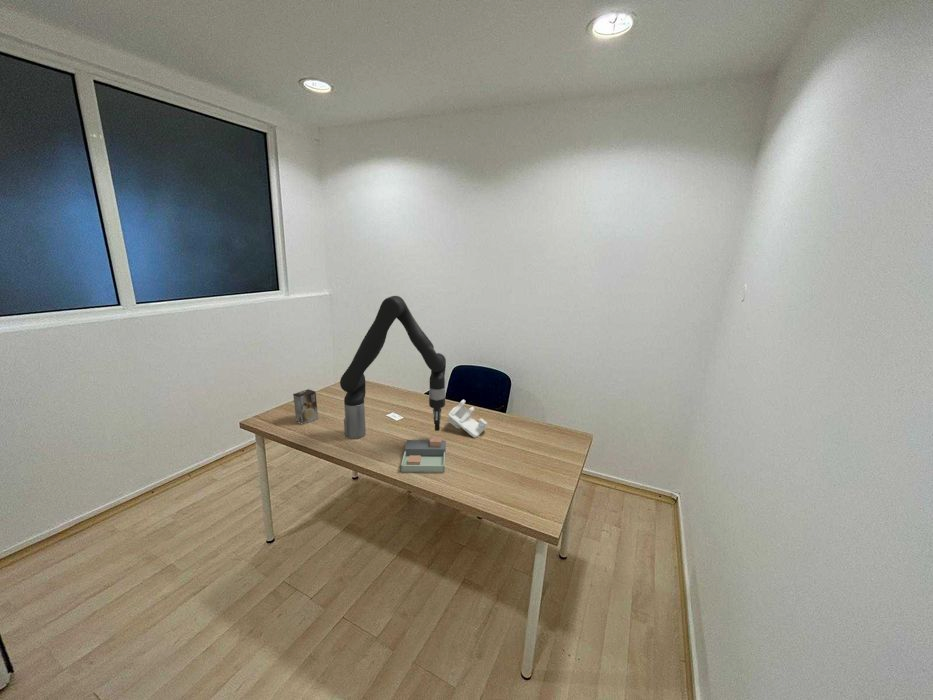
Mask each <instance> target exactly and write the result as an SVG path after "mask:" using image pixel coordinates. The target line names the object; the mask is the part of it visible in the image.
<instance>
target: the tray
mask: <svg viewBox="0 0 933 700" xmlns="http://www.w3.org/2000/svg"><path fill="white" fill-rule="evenodd" d="M408 459H409V456H406V451H405V450H404V453H403V457H402V460H401V464H400V472H401V473H439V474H440V473H442V474H443V473H445V469H446V452H444V457H428V456H421V463H420V465H408Z"/></svg>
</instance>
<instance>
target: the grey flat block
mask: <svg viewBox="0 0 933 700" xmlns="http://www.w3.org/2000/svg"><path fill="white" fill-rule="evenodd" d="M446 444H447V441H446V440H445V439H444V440H443V439H442V440H441V447H430V439H426V440H425V439H407V440H406V443H405V446H404V452H405V451H406V456H409V455H421V456H428V457H444V452H445V453H446V452H447V451H446V450H447V449H446V448H447V445H446Z"/></svg>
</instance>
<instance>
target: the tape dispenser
mask: <svg viewBox="0 0 933 700" xmlns="http://www.w3.org/2000/svg"><path fill="white" fill-rule="evenodd" d="M465 403H466V400H465V399H462V400H461V401H460V402H459V404H458V405H456V406H454V407H453V408H452V409H451V410H450V411H449V412H448V414H447V417H448V419H447V421H448V422H449V423H450V424H451V425H453V426H454V427H455V428H456V429H458V430H460V429H462V430H464V431H465V432H467V434H468V435H470V436H471V437H473V438H475V439H476V438H478V437H479V436H480V435H481V434H482V433H483V432H484V431H485V430H486V428H487V426H488V422H487V421H486V420H485V419H483V418H479V419H478V421H477V420H476V419H474V418H471V417H470V415H471V414H472V413H473V412H474V410H475V409H476V408H475V407H474V406H471V407H469V409H467V408H466V407H465V406H464V405H465Z"/></svg>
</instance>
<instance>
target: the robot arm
mask: <svg viewBox="0 0 933 700" xmlns="http://www.w3.org/2000/svg"><path fill="white" fill-rule="evenodd" d="M396 319H397V320H398V321H399V322H400V324H402V326H403V327H404V329H405V331H406V333H407V335H408V338H409V340H410V341H411V343H412V345H413V346H414V347H415V348H416V349H417V351H418V352H419V354H420V355H421V357H422V358H423V361H424V363H425V364H426V366H427V367H428V369H429V370H430V372H431V373H430V377H429V389H428V397H429V398H428V403H429V404H428V405H429V407H430V408H432V415H433V416H432V417H433V418H432V419H433V424H434V431H435V432H439V431H441V430H440V428H441V427H440V425H441V418H442V411H443V410H442V408H444V407H446V387H445V386H446V379H445V375H446V367H447V366H446V365H447V360H446V356H445V355H444V354H442V353H440V352H438V353H437V352H436V350H435V349H434V344H433V343H432V341H431V340H430V339H429V337H428V336H427V335H426V333H425V332H424V331H423V330H422V328H421V326H419V324H418V322H417V321H416V320H415V319H416V318H415V317H414V316H413V314H412V312H411V311H410V309H409V307H408V305H407V303H406V302H405V300H404V299H403V298H402V297H401V296H400V295H392V296H388V297H386V298H385V299H384V300H382V302H381V304H380V307H379V309H378V311H377V314H376V316H375V318H374V320H373V323H371V325H370V327H369V329H368V330H367V332H366V334H365V336H364V337H363V339H362V341H361V342H360V345H359V347H358V348H357V350H356V353H355V354H354V356H353V358H352V360H351V363H350V364H349V366H348V367H347V368H346V370H345V372H344V373H343V374H342V375H341V377H340V380H339V384H340V385H339V386H340V388H341V389H342V391H344V392H346V394H345V396H344V399H343V402H344V419H343V426H344V427H343V428H344V438H348V439H351V440H356V439H360V438H363V437H364V436H366V434H367V433H366V432H367V430H366V413H365V398H366V376H365V374H364V373H365V372H366V370H367V369H368V368H369V366H370V365H371V364H372V363H373V362H374V361H375V360H376V359H377V357H378V356H379V355H380V353H381V351H382V349H383V347H384V345H385V342H386V339H387V336H388V332H389V329H390V328H391V326H392V325H393V323H394V322H395V320H396ZM416 349H415V350H416Z"/></svg>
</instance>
